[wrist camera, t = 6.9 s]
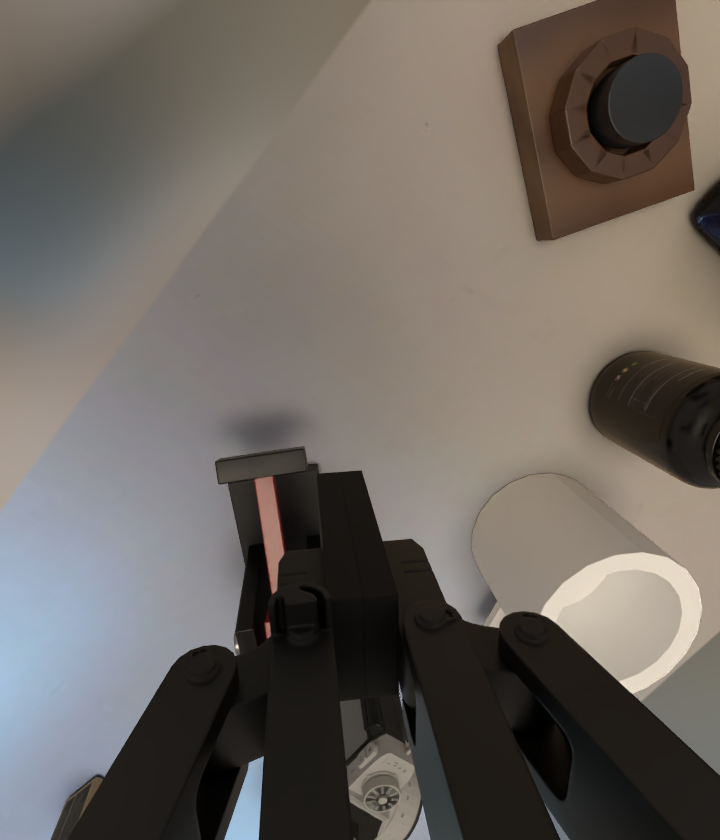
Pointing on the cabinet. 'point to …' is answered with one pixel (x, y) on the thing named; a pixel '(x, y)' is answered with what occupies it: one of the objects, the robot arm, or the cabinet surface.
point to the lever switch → (298, 533)
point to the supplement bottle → (663, 414)
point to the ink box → (75, 809)
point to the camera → (379, 769)
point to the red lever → (265, 497)
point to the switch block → (570, 114)
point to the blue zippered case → (710, 217)
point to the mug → (586, 576)
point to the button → (636, 101)
